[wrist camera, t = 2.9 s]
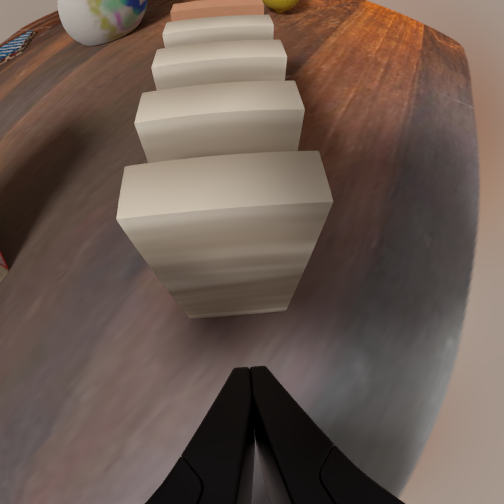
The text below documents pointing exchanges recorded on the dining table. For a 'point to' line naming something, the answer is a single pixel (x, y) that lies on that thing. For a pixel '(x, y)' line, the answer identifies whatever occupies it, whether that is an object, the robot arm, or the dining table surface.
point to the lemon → (280, 4)
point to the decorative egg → (100, 19)
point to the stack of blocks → (3, 267)
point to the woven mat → (15, 46)
